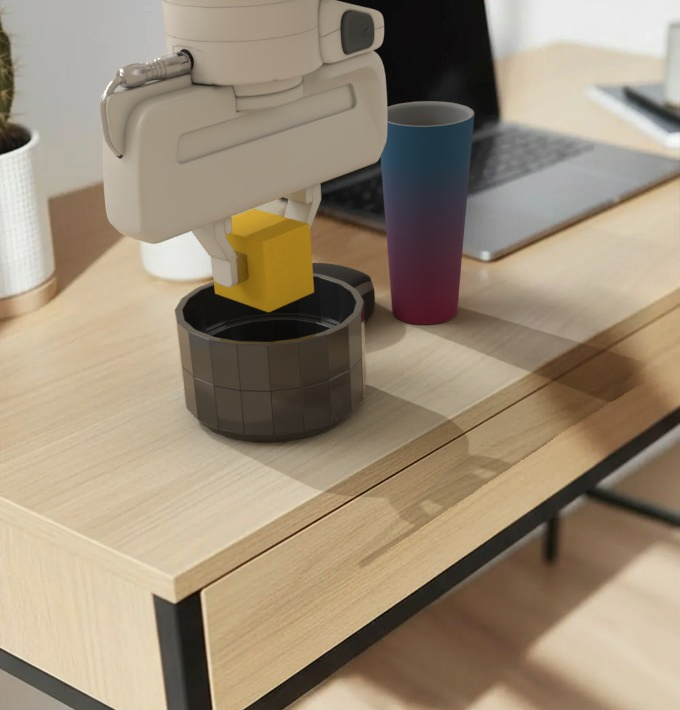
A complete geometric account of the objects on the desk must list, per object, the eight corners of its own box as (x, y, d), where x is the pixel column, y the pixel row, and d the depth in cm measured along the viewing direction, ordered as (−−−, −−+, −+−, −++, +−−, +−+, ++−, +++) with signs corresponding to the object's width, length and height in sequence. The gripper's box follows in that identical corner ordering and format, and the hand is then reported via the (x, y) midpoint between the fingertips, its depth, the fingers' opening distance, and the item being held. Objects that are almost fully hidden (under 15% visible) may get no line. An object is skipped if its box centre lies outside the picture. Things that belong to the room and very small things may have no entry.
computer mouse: (231, 345, 89) (226, 294, 86) (318, 288, 97) (315, 241, 95) (311, 364, 85) (309, 311, 83) (394, 303, 94) (393, 254, 92)
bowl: (402, 396, 81) (401, 299, 77) (274, 466, 73) (266, 362, 70) (277, 349, 88) (271, 257, 84) (149, 408, 81) (136, 311, 77)
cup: (484, 319, 91) (491, 118, 83) (402, 336, 89) (401, 131, 81) (445, 288, 96) (448, 96, 88) (367, 303, 94) (362, 108, 86)
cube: (314, 292, 76) (310, 223, 73) (268, 313, 73) (262, 242, 71) (260, 275, 79) (254, 207, 76) (214, 294, 76) (206, 225, 74)
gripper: (134, 81, 60) (168, 337, 67) (403, 11, 72) (406, 234, 79) (59, 65, 63) (99, 309, 71) (326, 1, 76) (336, 215, 83)
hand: (263, 269), depth 75 cm, fingers closed on cube, 4 cm apart
